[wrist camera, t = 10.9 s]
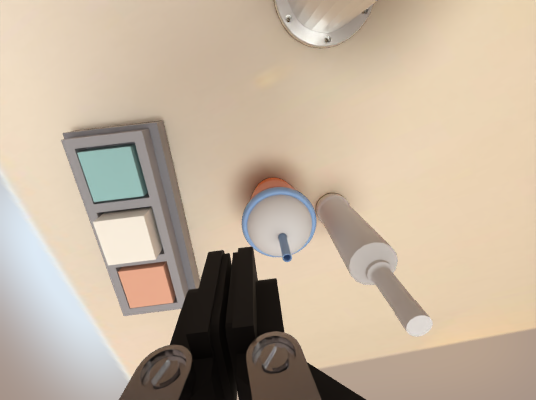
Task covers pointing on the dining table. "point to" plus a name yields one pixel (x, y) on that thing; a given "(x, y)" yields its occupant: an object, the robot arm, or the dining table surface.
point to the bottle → (370, 260)
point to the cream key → (128, 236)
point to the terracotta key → (147, 284)
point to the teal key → (113, 172)
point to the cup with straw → (278, 219)
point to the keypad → (142, 203)
